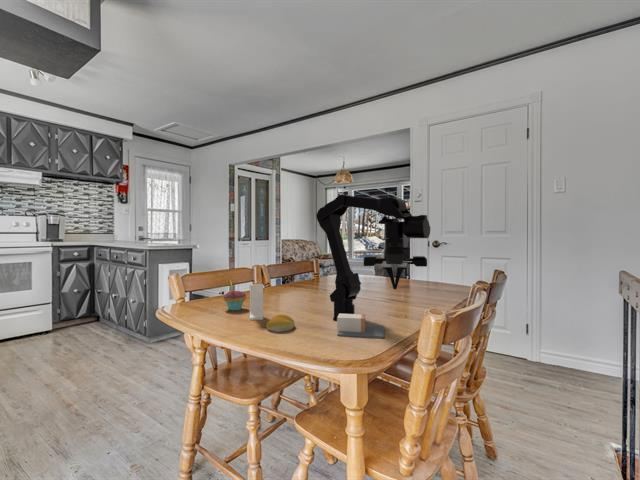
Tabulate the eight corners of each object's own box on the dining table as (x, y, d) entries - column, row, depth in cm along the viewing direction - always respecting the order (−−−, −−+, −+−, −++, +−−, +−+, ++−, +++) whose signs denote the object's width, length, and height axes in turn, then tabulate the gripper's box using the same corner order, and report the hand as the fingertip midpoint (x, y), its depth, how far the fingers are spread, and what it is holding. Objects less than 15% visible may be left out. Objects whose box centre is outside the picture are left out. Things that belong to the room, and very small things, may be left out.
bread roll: (263, 332, 101) (263, 319, 101) (272, 324, 109) (272, 312, 109) (290, 333, 99) (290, 320, 99) (297, 325, 108) (297, 313, 108)
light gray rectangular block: (249, 320, 114) (249, 284, 114) (250, 315, 120) (249, 282, 119) (263, 319, 115) (263, 284, 114) (263, 315, 121) (263, 281, 120)
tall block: (364, 332, 98) (337, 330, 99) (365, 327, 103) (339, 326, 104) (364, 318, 98) (337, 317, 99) (365, 314, 103) (339, 313, 104)
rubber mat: (337, 335, 96) (337, 334, 96) (342, 325, 107) (342, 323, 107) (383, 338, 94) (383, 336, 94) (383, 327, 105) (383, 325, 105)
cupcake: (219, 311, 127) (219, 279, 127) (229, 306, 135) (229, 276, 135) (241, 311, 125) (241, 280, 125) (249, 306, 134) (249, 276, 134)
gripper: (361, 239, 98) (361, 292, 98) (428, 238, 93) (428, 294, 94) (365, 238, 108) (365, 286, 109) (425, 238, 104) (425, 288, 104)
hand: (394, 289), depth 104 cm, fingers closed
